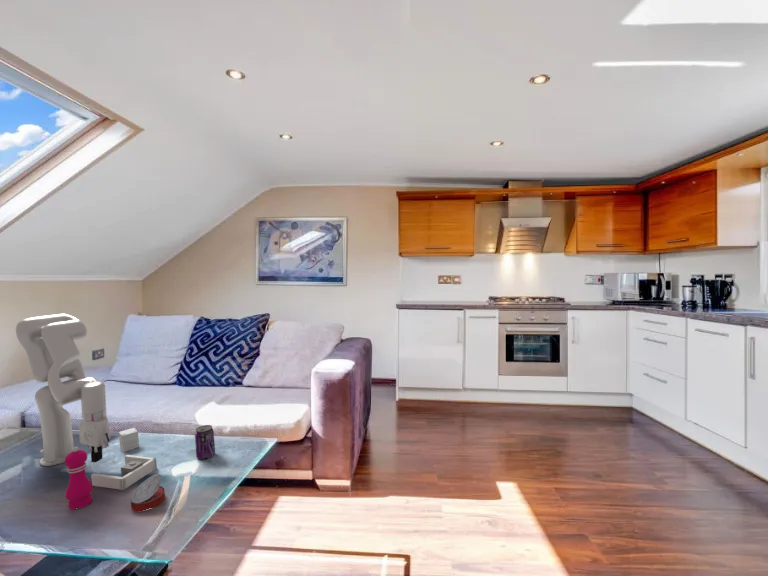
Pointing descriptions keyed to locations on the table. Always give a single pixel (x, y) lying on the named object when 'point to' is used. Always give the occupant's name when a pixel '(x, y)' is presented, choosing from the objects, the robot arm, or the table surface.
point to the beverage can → (204, 442)
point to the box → (128, 479)
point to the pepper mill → (78, 480)
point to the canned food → (148, 494)
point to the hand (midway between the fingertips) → (97, 460)
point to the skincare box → (128, 439)
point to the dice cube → (130, 467)
